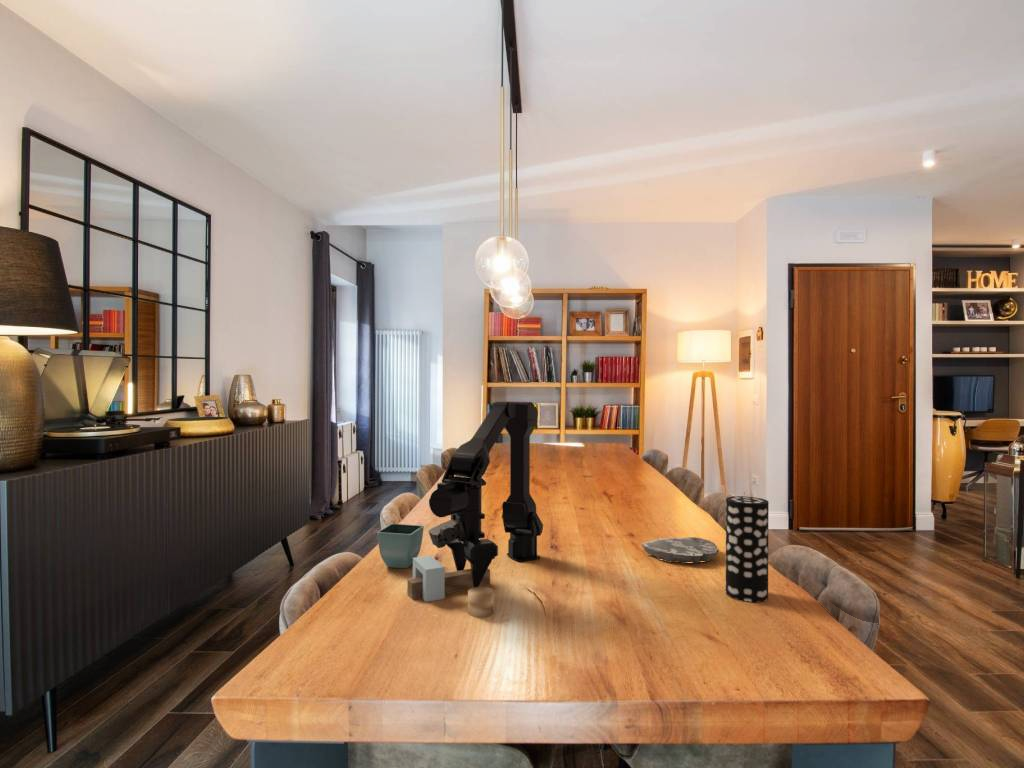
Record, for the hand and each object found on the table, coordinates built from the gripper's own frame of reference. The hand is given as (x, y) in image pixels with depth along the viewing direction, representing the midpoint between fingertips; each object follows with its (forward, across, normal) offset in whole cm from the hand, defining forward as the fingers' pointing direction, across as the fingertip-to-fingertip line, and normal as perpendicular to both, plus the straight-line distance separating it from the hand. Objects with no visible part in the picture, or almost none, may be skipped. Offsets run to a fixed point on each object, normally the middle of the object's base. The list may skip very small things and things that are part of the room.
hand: (467, 580), depth 126 cm
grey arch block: (+1, 0, -9) cm, 9 cm away
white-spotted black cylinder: (+2, +30, +51) cm, 59 cm away
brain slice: (+2, +3, +59) cm, 59 cm away
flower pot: (+2, -21, -9) cm, 23 cm away
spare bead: (+2, +14, -3) cm, 14 cm away
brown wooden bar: (+2, 0, -4) cm, 5 cm away
